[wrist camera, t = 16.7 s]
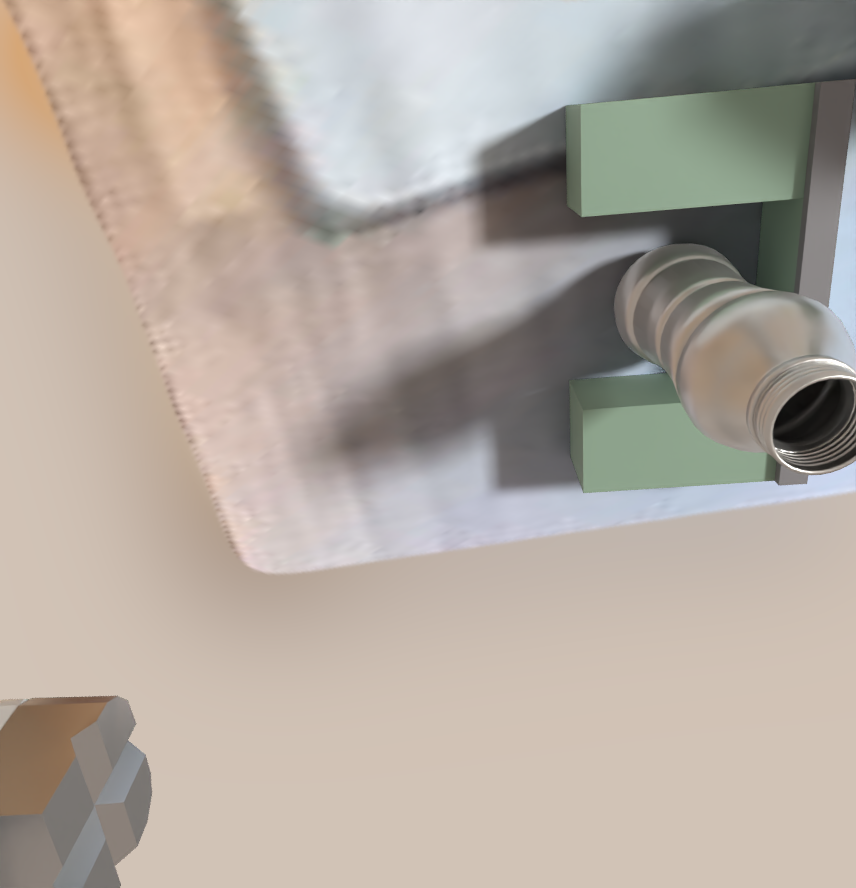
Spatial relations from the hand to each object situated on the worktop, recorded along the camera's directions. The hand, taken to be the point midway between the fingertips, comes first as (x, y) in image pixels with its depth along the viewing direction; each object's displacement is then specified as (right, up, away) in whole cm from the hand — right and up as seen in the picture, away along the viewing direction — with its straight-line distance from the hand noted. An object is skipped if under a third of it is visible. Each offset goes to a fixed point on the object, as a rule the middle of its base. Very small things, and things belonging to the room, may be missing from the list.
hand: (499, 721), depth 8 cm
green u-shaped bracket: (+13, +12, +35) cm, 39 cm away
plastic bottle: (+13, +12, +35) cm, 39 cm away
